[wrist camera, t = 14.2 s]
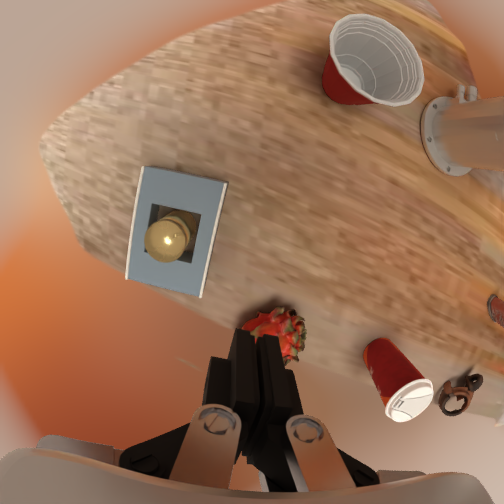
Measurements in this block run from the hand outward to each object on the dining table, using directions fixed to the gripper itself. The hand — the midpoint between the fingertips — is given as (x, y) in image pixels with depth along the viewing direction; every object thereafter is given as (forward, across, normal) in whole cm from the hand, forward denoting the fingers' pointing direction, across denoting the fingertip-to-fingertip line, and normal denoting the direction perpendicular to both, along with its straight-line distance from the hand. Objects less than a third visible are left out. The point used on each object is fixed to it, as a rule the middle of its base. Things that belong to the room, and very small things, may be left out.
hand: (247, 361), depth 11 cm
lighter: (+27, -54, +3) cm, 61 cm away
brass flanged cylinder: (+27, +8, +2) cm, 28 cm away
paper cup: (+27, -27, +15) cm, 41 cm away
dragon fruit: (+27, -7, +14) cm, 32 cm away
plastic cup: (+27, -8, -22) cm, 36 cm away
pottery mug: (+27, -55, +23) cm, 66 cm away
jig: (+27, +8, +2) cm, 28 cm away
